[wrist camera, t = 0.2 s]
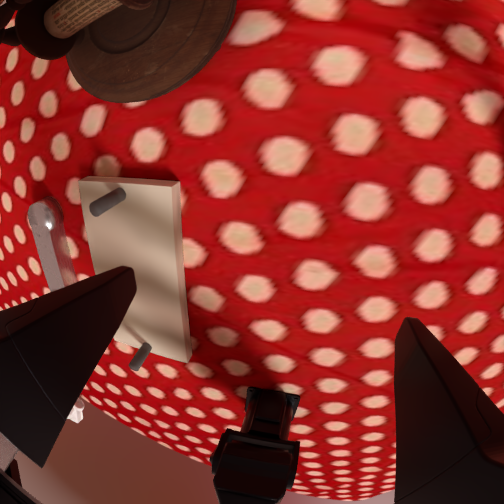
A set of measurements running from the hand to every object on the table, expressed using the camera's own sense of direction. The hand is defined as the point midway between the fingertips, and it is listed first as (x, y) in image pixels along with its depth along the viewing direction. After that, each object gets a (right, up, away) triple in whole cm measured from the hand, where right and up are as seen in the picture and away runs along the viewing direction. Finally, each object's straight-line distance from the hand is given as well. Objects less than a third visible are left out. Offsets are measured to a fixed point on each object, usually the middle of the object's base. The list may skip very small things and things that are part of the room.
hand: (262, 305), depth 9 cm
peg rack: (-11, -1, +20) cm, 23 cm away
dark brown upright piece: (-8, +20, +8) cm, 23 cm away
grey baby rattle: (-23, +1, +22) cm, 32 cm away
